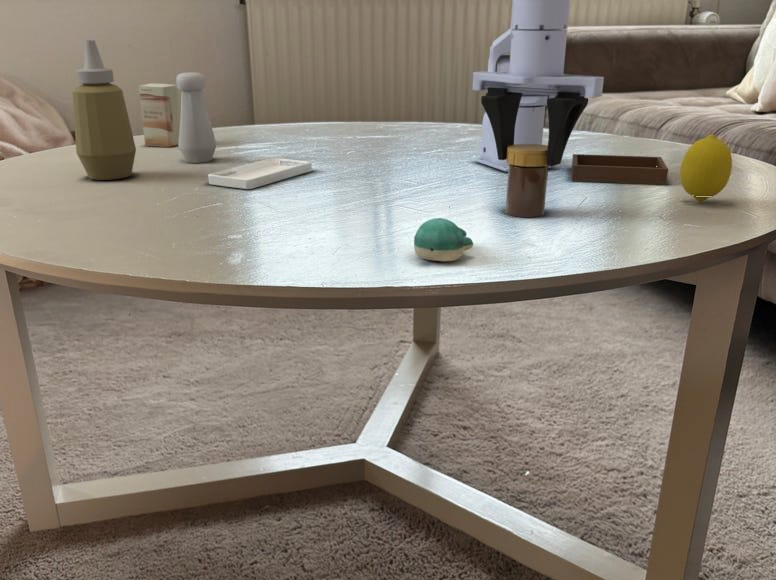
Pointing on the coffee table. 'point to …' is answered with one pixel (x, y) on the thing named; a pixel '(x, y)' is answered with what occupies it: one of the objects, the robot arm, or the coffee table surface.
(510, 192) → the jar
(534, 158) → the jar lid
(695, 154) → the lemon
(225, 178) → the phone case
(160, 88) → the cream carton box
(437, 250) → the whale figurine
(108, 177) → the squeeze bottle
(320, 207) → the coffee table surface
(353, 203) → the coffee table surface
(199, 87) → the salt shaker
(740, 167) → the coffee table surface
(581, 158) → the tray
